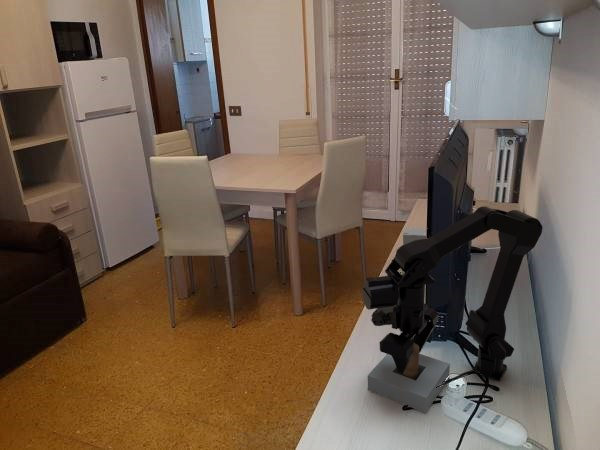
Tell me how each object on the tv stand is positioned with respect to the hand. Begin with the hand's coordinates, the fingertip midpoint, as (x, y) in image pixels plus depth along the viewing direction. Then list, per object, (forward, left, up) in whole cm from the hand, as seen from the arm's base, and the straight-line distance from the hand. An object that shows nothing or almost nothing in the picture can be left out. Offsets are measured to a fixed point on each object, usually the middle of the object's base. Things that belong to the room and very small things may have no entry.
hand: (409, 362), depth 107 cm
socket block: (0, 0, -6) cm, 6 cm away
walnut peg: (0, 0, -6) cm, 6 cm away
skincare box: (-57, -23, -6) cm, 62 cm away
